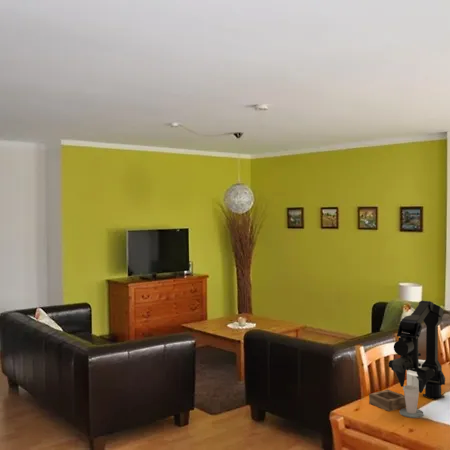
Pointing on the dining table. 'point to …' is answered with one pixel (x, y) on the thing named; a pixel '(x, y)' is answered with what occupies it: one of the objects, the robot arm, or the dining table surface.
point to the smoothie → (411, 397)
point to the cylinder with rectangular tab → (414, 376)
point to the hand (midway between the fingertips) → (411, 389)
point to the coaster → (411, 415)
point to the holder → (387, 400)
